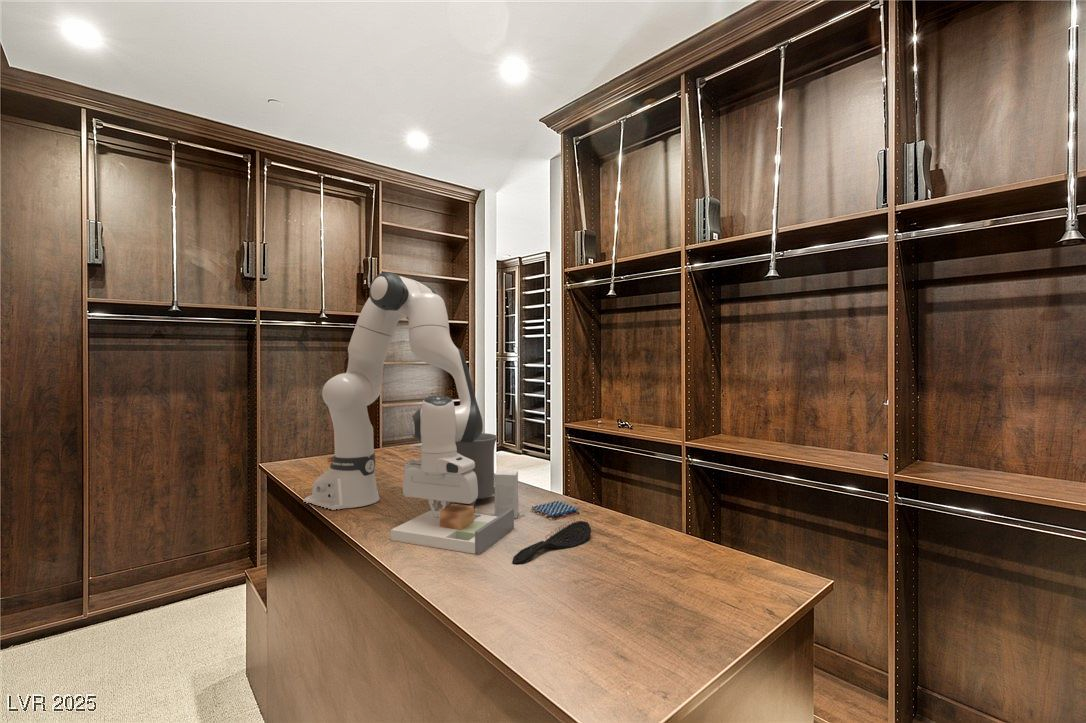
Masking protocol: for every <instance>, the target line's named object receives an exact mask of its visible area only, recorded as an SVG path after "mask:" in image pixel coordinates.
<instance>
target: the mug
mask: <svg viewBox="0 0 1086 723" xmlns="http://www.w3.org/2000/svg"><path fill="white" fill-rule="evenodd" d="M497 439H498V436H497V435H496V434H493V433H492V434H491V433H486V432H485V433H484V432H482V433H481V435H480V436H479V437H478V438H477V439H476V440H475V441H473V442H472V443H467V442H455V443H456V447H457V453H459V454H460V455H462V456H464V457H467V458H469V459H471V460H473V461H474V462H475V468H474V469H472V470H473V471H474V472H475V474H476V477H477V484H478V497H477V499H476V500H475V501H474V502H472V503H470V506H474V507H475V505H476V501H477V500H479V499H480V500H481V499H485V498H489V497H492V496H493V495H495V486H494V474H495V445H496V442H497Z"/></svg>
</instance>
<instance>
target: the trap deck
mask: <svg viewBox="0 0 1086 723" xmlns="http://www.w3.org/2000/svg"><path fill="white" fill-rule="evenodd" d="M514 529H515V519H514V509H511V508H510V509H509V510H507V511H506V512H504V513H503V514H501V515H500V516H498V517H497V516H495V515H488V514H487V515H486V514H481V513H474V523H472V524H470V525H469V526H467V527H465V528H464V529H462V530H457V529H450V528H443V527H440V518H437V517H433V510H432V509H430V510H428V511H426V512H424V513H422V514H420V515H418V516H416V517H413V518H411V519H410V520H408V521H405V522H404V523H402V524H400V525H397V526H396V527H393V528H391V529H390V541H393V542H399V543H405V544H413V545H416V546H417V545H418V546H424V547H430V548H435V549H443V550H448V551H449V550H450V551H455V552H460V553H467V554H472V555H481V554H482V553H484V552H485V551H486V550H487V549H489V548H491V546H493V545H494V544H495V543H497V542H498V541H500V540H501V539H502V538H503V537H504V536H506V535H508V533H510V532H511V531H513V530H514Z"/></svg>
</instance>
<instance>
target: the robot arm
mask: <svg viewBox="0 0 1086 723" xmlns="http://www.w3.org/2000/svg"><path fill="white" fill-rule="evenodd" d="M368 290H369V291H368V292H369V293H368V294H369V297H368V298H367V300H366V302H365V303H364V305H363V307H362V310H361V312H360V313H359V315H358V318H357V321H356V324H355V326H354V330H353V332H352V335H351V338H350V340H349V343H348V346H347V352H348V361H347V362H348V363H347V368H346V372H344V373H339V374H337V375H334V376H333V377H331V378H330V379H328V380H327V381H326V382H325V383H324V385H323V387H322V392H321V394H322V396H321V397H322V399H323V402H324V403H325V405H326V406H327V407H328V410H329V415H330V418H331V422H332V426H333V427H332V428H333V433H334V434H333V436H334V439H333V440H334V455H333V456H332V457H328V458H327V463H330V466H329V468H328V469H327V470H326V471H325V472H323V473H322V474H321V475H320V476H319V477H318V478H316V480H314V482H313V484H312V490H311V492H312V493H311V494H310V495H307V496H306V497H304V499H303V503H304V502H309V503H312V504H315V505H318V506H321V507H320V508H322V507H324V508H323V509H326V508H328V509H327V510H329V509H331V510H330V511H337V510H341V509H352V508H354V509H355V508H358V507H359V508H360V507H365V506H368V505H373V504H375V503H377V502H378V501H379V500H380V499H381V497H380V495H379V492H378V486H377V479H376V472H375V469H376V468H375V467H376V453H375V449H374V446H375V445H374V444H375V443H374V427H373V425H372V423H371V420H370V416H369V412H368V406H370V405H371V404H373V403H374V402H375V401H376V400H377V399H378V398H379V396H380V394H381V392H382V385H381V384H382V378H383V373H384V372H383V371H384V363H385V360H386V358H387V354H388V350H389V348H390V346H391V343H392V340H393V337H394V333H395V330H396V327H397V325H398V322H399V321H401V319H404V318H406V319H407V321H408V340H409V341H408V342H409V346H410V350H411V352H412V354H413V355H414V356H415V357H416V358H417V359H418V360H420V361H421V362H423V363H425V364H427V365H431V366H432V367H436V368H439V369H442V370H444V371H446V372H447V373H448V374H450V375H451V376H452V378H453V379H454V383H455V386H456V392H457V396H458V399H459V400H458V401H459V405H455V402H454V400H453V399H452V398H451V397H449V396H444V395H431V396H428V397H424V398H423V400H422V403H421V408H419V409H417V411H416V412H414V414H413V415H412V416H411V417H412V438H413V439H415V440H416V441H418V443H421V447H420V459H409V460H408V461H406V463H405V464H404V467H403V468H404V471H403V472H404V474H403V480H402V493H403V495H404V497H407V498H417V499H424V500H428V505H429V506H430V508H431V510H433V517H437V518H440V510H442V509H444V508H446V507H448V506H450V505H451V503H455V504H464V505H471V503H472V502H474V501H475V500H476V501H477V500H478V499H477V497H478V484H477V477H476V474H475V472H474V471H473V470H472V469H474V468H475V462H474V461H473V460H471V459H469V458H467V457H464V456H462V455H460V454H459V453H457V447H456V443H455V442H467V443H472V442H473V441H475V440H476V439H477V438H478V437H479V436H480V435H481V433H483V430H484V420H483V417H482V413H481V411H480V407H479V405H478V402H477V398H476V394H475V390H474V386H473V382H472V378H471V375H470V371H469V367H468V363H467V360H466V358H465V357H466V356H465V354H464V352H463V350H462V349H461V348H460V347H459V348H458V347H457V346H456V345H455V344H454V342H453V340H452V337H451V334H450V324H449V316H448V311H447V308H446V303H445V301H444V298H442V296H440V295H439V294H438V293H437V292H436V291H435V290H434V289H433V288H432V287H430V286H427V285H425V284H423V283H421V282H419V281H417V280H414V279H413V278H409V277H405V276H401V275H398V274H397V273H393V272H389V271H387V272H380V273H379V274H377V275H376V276H375V277H374V278H373V279H372V281H371V283H370V286H369V289H368ZM439 501H440V505H442V507H441V508H440V507H439V504H438V502H439ZM318 506H317V507H318ZM336 509H337V510H336Z"/></svg>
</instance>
